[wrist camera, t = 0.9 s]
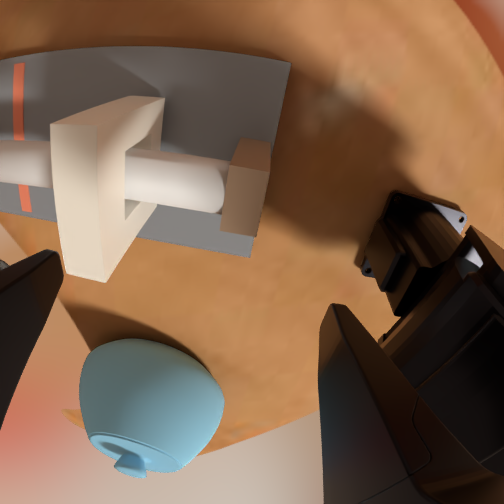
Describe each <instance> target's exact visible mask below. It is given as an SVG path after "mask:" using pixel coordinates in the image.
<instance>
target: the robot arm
mask: <svg viewBox="0 0 504 504" xmlns="http://www.w3.org/2000/svg"><path fill="white" fill-rule="evenodd" d="M397 196H399V199H398V200H397V201H394V199H395V197H397ZM461 216H462V218H461V219H460V220H459V218H460V217H461ZM466 221H467V216H466V214H465V213H464V212H463V211H461V210H458V209H455V208H452V207H449V206H446V205H443V204H440V203H437V202H434V201H431V200H428V199H425V198H421V197H418V196H415V195H412V194H408V193H405V192H402V191H398V190H395V191H393V192H391V193H390V195H389V197H388V200H387V203H386V205H385V208H384V210H383V213H382V216H381V218H380V219H378V220H377V222H376V224H375V227H374V229H373V232H372V234H371V237H370V239H369V242H368V244H367V247H366V249H365V254H366V255H365V258H364V260H363V262H362V265H361V268H360V269H361V272H362V274H363V275H364V276H367V277H372V278H375V279H376V281H377V284H378V287H379V289H380V291H381V292H385V293H386V295H387V298H388V300H389V303H390V306H391V308H392V311H393V314H394V315H395V316H398V317H401V318H400V319H399V320H398V321H397V322H396V323H395V324H394V326H393V327H392V328H391V329H390V330H389V331H388V332H387V333H386V334H385V333H384V334H383V335H382V336H381V337H380V338H379V339H378V343H377V342H376V341H375V339H374V338H373V337H372V336H371V335H370V333H369V332H368V331H367V330H366V329H365V327H364V326H363V325H362V324H361V323H360V321H359V320H358V319H357V318H356V317H355V315H354V314H353V313H352V312H351V311H350V310H349V308H348V307H347V306H346V305H343V304H336V303H332V304H330V306H329V307H328V309H327V312H326V314H325V316H324V319H323V321H322V323H321V326H320V332H319V362H318V393H319V407H320V423H321V439H322V440H321V441H322V460H323V490H324V491H323V492H324V504H504V249H502V248H501V247H500V246H498V245H497V244H496V243H495V242H493V241H492V240H491V239H489V238H488V237H487V236H485V235H484V234H483V233H481V232H480V231H479V230H477V229H476V228H475V227H473V226H472V225H470V226H469V228H468V229H467V231H466V232H465V234H466V236H465V237H464V238H463V237H462V236H461V235H460V234H461V232H462V229H463V227H464V225H465V223H466ZM367 268H370V269H369V270H366V269H367ZM63 277H64V274H63V269H62V265H61V260H60V255H59V253H58V252H57V251H53V250H49V249H46V250H43V251H41V252H39V253H36V254H34V255H32V256H30V257H28V258H26V259H23V260H21V261H19V262H17V263H15V264H13V265H11V266H8V267H6V268H4V269H2V270H0V429H1V427H2V424H3V421H4V418H5V415H6V413H7V410H8V407H9V404H10V402H11V399H12V397H13V394H14V392H15V389H16V387H17V384H18V382H19V379H20V377H21V375H22V372H23V370H24V368H25V366H26V363H27V361H28V359H29V357H30V354H31V352H32V350H33V348H34V346H35V344H36V342H37V340H38V338H39V336H40V334H41V331H42V330H43V327H44V325H45V323H46V321H47V318H48V316H49V313H50V311H51V308H52V306H53V303H54V301H55V299H56V296H57V294H58V292H59V289H60V287H61V285H62V282H63Z"/></svg>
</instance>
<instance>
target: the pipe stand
mask: <svg viewBox="0 0 504 504" xmlns="http://www.w3.org/2000/svg"><path fill="white" fill-rule="evenodd" d="M290 67H291V63H290V62H285V61H280V60H275V59H269V58H264V57H258V56H252V55H246V54H239V53H231V52H224V51H215V50H205V49H194V48H180V47H159V46H111V47H91V48H78V49H67V50H58V51H50V52H43V53H36V54H30V55H24V56H18V57H13V58H8V59H3V60H0V211H1V212H6V213H11V214H16V215H21V216H27V217H32V218H37V219H42V220H48V221H53V222H57V215H56V207H55V198H54V189H53V177H52V163H51V142H50V124H51V123H54V122H56V121H59V120H61V119H64V118H66V117H69V116H71V115H74V114H76V113H79V112H82V111H85V110H87V109H90V108H93V107H96V106H99V105H102V104H105V103H108V102H111V101H114V100H117V99H120V98H124V97H127V96H130V95H131V96H148V97H161V98H165V104H164V113H163V123H162V133H161V145H160V151H156V150H148V149H139V148H129V149H128V150H126V151H125V199H129V200H135V201H142V202H148V203H154V204H157V207H156V208H155V210H154V211H153V212H152V214H151V215H150V217H149V218H148V220H147V221H146V222H145V224H144V225H143V227H142V228H141V230H140V231H139V233H138V234H137V236H136V237H139V238H144V239H149V240H155V241H160V242H166V243H171V244H177V245H182V246H188V247H193V248H199V249H204V250H210V251H215V252H221V253H226V254H232V255H237V256H243V257H248V258H250V255H251V250H252V246H253V241H254V237H256V236H257V231H258V227H259V222H260V217H261V213H262V208H263V203H264V199H265V194H266V189H267V185H268V180H269V176H270V161H271V156H272V152H273V147H274V142H275V137H276V133H277V128H278V123H279V119H280V114H281V109H282V105H283V100H284V95H285V91H286V86H287V81H288V77H289V72H290Z"/></svg>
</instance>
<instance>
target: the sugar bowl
mask: <svg viewBox="0 0 504 504" xmlns="http://www.w3.org/2000/svg"><path fill="white" fill-rule="evenodd" d="M79 400H80V407H81V412H82V417H83V421H84V425H85V429H86V432H87V435H88V438H89V440H90V442H91V443H92V444H93V446H94V447H95V448H97V449H98V450H99V451H101V452H102V453H104V454H105V455H107V456H109V457H111V458H113V459H115V460H117V462H116V463H115V465H114V467H115V468H116V469H117V470H118V471H120V472H121V473H124V474H126V475H129V476H132V477H137V478H145V477H146V470H148V471H154V472H164V473H166V472H167V473H168V472H175V471H177V470H180V469H181V468H183V467H184V466H185V465H187V464H188V463H189V462H190V461H191V460H192V459H193V458H194V457H195V456H196V455H197V454H198V453H199V452H200V451H201V450H202V449H203V448H204V447H205V446H206V445H207V444H208V442H209V441H210V439H211V438H212V436H213V435H214V433H215V432H216V430H217V427H218V425H219V423H220V420H221V417H222V414H223V410H224V397H223V393H222V390H221V388H220V386H219V385H218V383H217V382H216V381H215V379H214V378H213V377H212V375H211V374H210V373H209V372H208V371H207V370H206V369H205V368H204V367H203V366H202V365H201V364H200V363H199V362H198V361H196V360H195V359H194V358H192V357H191V356H189V355H187V354H185V353H184V352H182V351H180V350H178V349H175V348H173V347H171V346H168V345H165V344H162V343H159V342H155V341H151V340H145V339H135V338H131V339H121V340H116V341H112V342H109V343H105V344H103V345H100V346H98V347H96V348H95V349H94V350H93V351H92V352H90V353H89V355H88V356H87V358H86V360H85V362H84V365H83V368H82V372H81V377H80V384H79Z"/></svg>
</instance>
